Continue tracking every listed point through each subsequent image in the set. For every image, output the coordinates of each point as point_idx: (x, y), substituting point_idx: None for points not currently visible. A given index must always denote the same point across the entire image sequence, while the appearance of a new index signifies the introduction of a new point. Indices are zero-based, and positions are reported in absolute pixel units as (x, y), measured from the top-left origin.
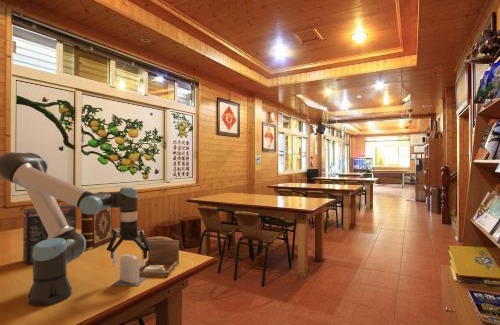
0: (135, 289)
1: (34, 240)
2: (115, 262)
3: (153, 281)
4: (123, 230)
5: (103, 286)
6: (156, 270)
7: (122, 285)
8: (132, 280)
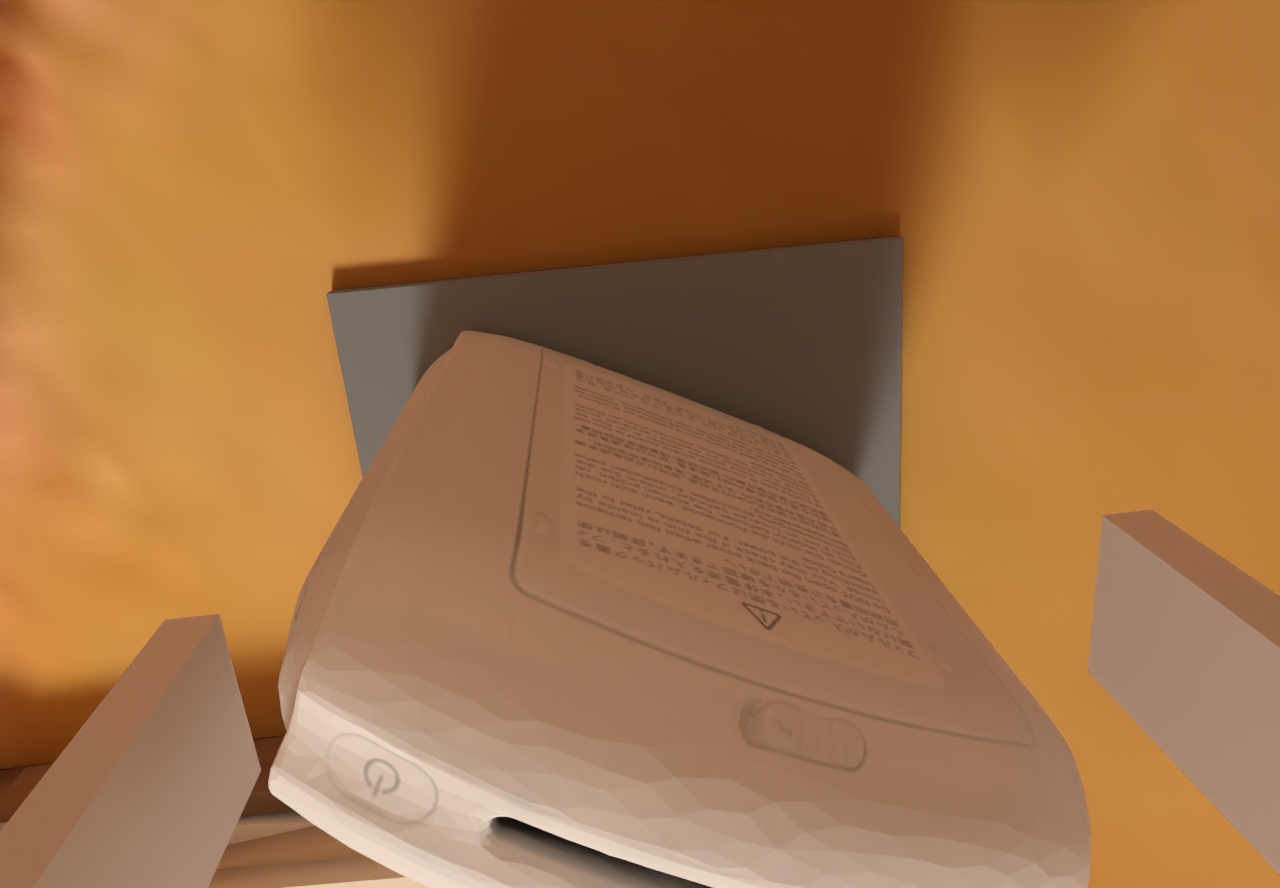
0: (281, 122)
1: None
2: (1152, 628)
3: (149, 550)
4: None
5: (1062, 188)
6: (218, 864)
7: (672, 258)
8: (466, 341)
